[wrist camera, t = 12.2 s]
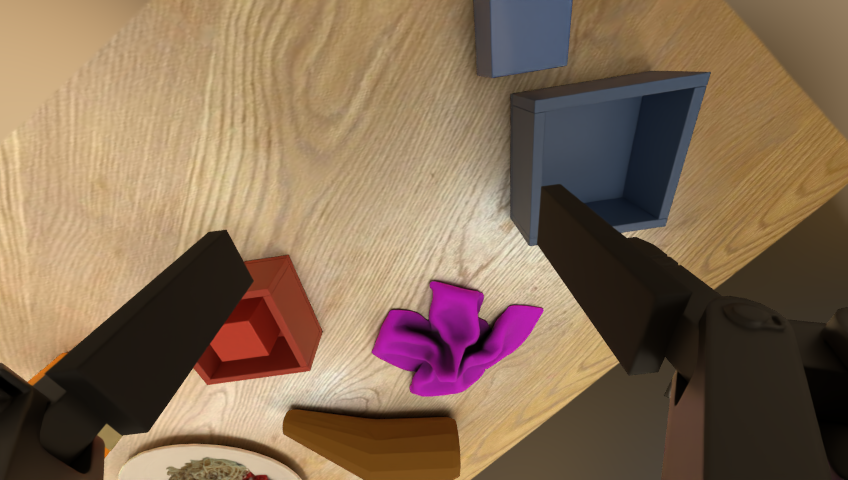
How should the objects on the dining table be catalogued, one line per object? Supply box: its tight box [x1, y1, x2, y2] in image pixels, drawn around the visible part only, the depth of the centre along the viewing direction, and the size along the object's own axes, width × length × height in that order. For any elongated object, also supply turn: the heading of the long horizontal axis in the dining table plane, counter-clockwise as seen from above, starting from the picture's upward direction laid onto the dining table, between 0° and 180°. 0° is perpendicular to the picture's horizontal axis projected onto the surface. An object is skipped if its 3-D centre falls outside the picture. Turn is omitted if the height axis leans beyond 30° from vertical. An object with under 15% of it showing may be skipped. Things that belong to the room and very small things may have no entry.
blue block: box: [473, 0, 572, 78], centre depth 21 cm, size 5×5×5 cm
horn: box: [283, 409, 460, 480], centre depth 45 cm, size 8×10×25 cm
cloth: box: [372, 281, 544, 396], centre depth 37 cm, size 22×19×6 cm
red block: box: [210, 296, 281, 362], centre depth 32 cm, size 5×5×5 cm
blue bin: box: [510, 71, 711, 246], centre depth 25 cm, size 12×12×6 cm
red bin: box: [193, 255, 322, 385], centre depth 32 cm, size 12×12×6 cm
